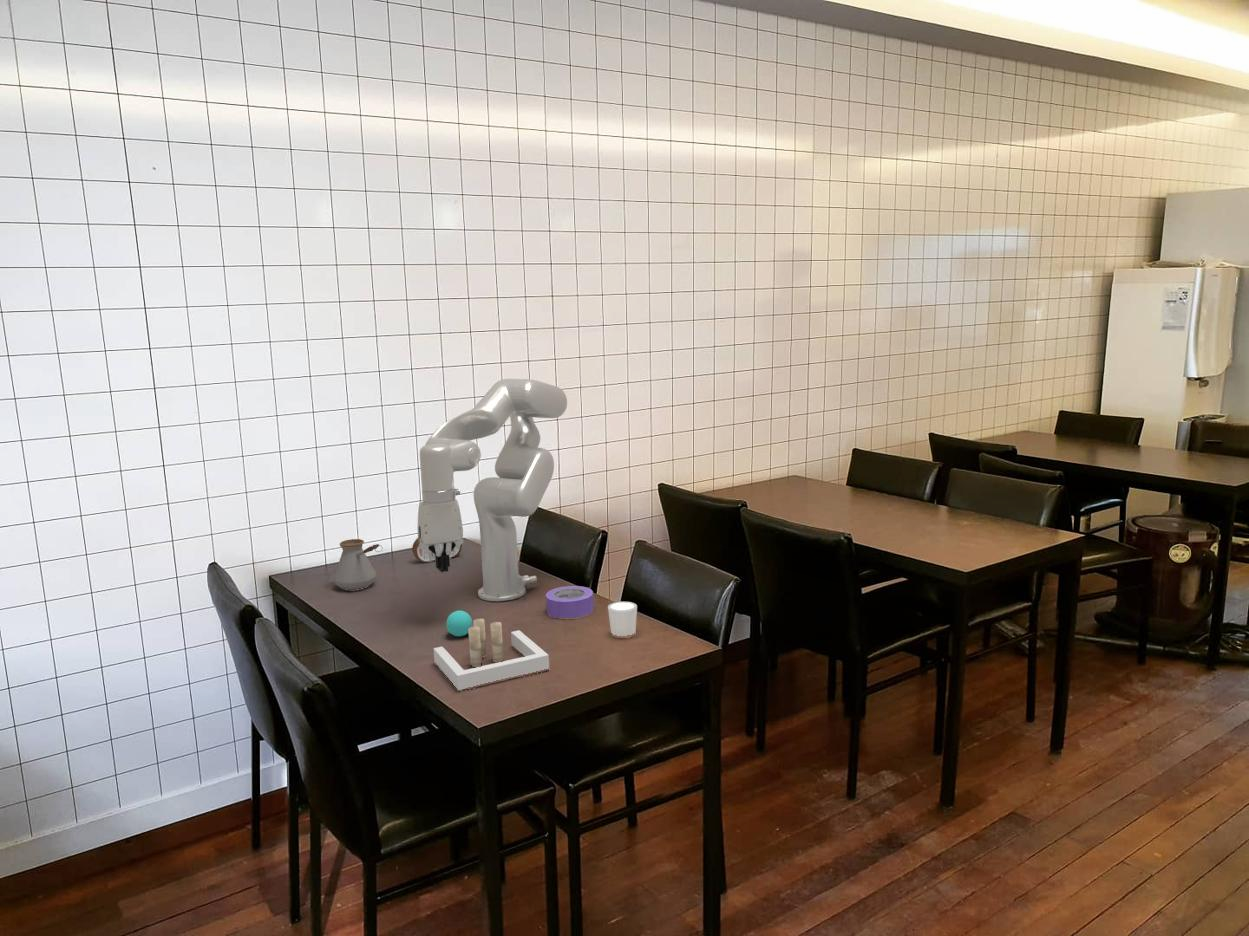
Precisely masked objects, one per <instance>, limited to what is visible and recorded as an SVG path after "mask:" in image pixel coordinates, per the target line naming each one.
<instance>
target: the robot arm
mask: <svg viewBox="0 0 1249 936" xmlns="http://www.w3.org/2000/svg"><path fill="white" fill-rule="evenodd" d="M567 407H568V399H567V395H566V393H565V391H564V390H563V389H562V388H561V387H559V386H556V385H552V384H549V383H546V382H543V381H539V380H535V379H527V378H503V379H500V380H498V381H496V382H495V383H494V384H493V385H492V386H491V387H490V389H488V391H487V392H486V393H485V394H484V395H483V396H482V398H481V399H480V400H479V401H477V403H476V404H475V406H474V407H472V409H470V410H467V411H465V412H462V413H461V414H459V415H457V416H455V417H453V418H451V419H448V420H447V421H446V422H444V423H443V424H442V425H440V426H439V427H438V428H437V429H436V430H435V431H434V432H433V433H432V434H431V436H430V437H429V438H428V439H427V440H426V442H425V445H423V446H422V447H421V448H420V450H419V463H420V480H421V495H422V501H421V502H419V504H418V510H417V538H418V539H419V541H420V543H419V548H420V549H421V550H430V551H431V552H433V553H434V554H435V560H436V561H435V568H436V569H437V570H438V571H440V573H444V572H449V567H451V563H450V561H451V560H450V559H449V555H450V554H451V551H452V550H453V549H454V548H455V546H458V545H461V544H462V545H463V544H464V538H463V537H464V528H463V521H462V515H461V514H462V513H461V510H460V505H459V502H458V499H456V496H458V495H461V490H460V488H455V481H454V479H455V478H454V473H455V472H465V471H466V472H467V471H471V470H472V469H474V468H476V466H478V464H479V463H480V460H481V456H482V454H481V449H480V447H479V446H478V444H477V443H476V442H474V441H473V440H478V439H482V438H486V437H489V436H492V435H494V434H496V433H498V432H499V431H500V429H501V428H502V427H503V425H505V423H506V422H507V420H508V419H510V426H511V427H510V428H511V429H510V433H509V435H508V437H507V438H506V441H505V442H504V444H503V446H502V449H501V451H500V452H499V454H498V456H497V459H496V461H495V464H494V472H495V474H496V476H495V477H490V476H489V477H486V478H483V479H481V480H480V481H478V483H476V485H475V487H474V489H473V503H474V506H475V509H476V513H477V517H478V525H479V526H478V527H479V535H480V536H479V537H480V551H481V552H480V553H481V565H482V566H481V567H482V571H481V572H482V584H483V585H482V587H480V588H479V589H478V590H477V596H478V597H479V598H480V599H481V600H484V601H487V602H505V601H506V602H507V601H513V600H515V599H516V600H517V599H519V598H521V597H523V596H524V595H525V594H526V587H525V586H526V585H529V584H535V583H537V582H538V581H537V579H538V578H537V575H531V576H529V575H528V574H525V575H520V572H519V556H518V537H517V536H518V535H517V533H518V532H517V526H516V524H515V521H514V520H513V518H512V517H521V518H522V517H524V518H525V517H530V516H532V515H533V514H534V513H535V512H536V511H537V509H538V508H539V505H540V503H541V502H542V499H543V497H544V495H545V493H546V492H547V488H548V487H549V485H550V483H551V480H552V478H553V474H554V471H555V470H554V469H555V461H554V457H553V455H552V453H551V452H550V451H549V450H547V449H546V448H543V447H539V445H540V443H541V433H540V430H539V429H538V426H536V424H535V421H534V418H539V419H540V418H542V419H557V418H560V417H561V416H562V415H564V413H565V412H566V410H567ZM442 543H443V551H442V553H441V550H440V545H439V544H442Z"/></svg>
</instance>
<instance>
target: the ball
mask: <svg viewBox="0 0 1249 936" xmlns="http://www.w3.org/2000/svg"><path fill="white" fill-rule="evenodd" d="M445 624H446V629H447V631H448V632H449V633H450V635H452V636H454V637H464V636H466V635H467V634H469V633H468V628H470V627H473V620H472V617H471V615H470V614H469V613H468V612H466V611H464V610H455V611H453V612H451V613H450V614H449V615H448V617H447V619H446V623H445Z"/></svg>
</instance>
